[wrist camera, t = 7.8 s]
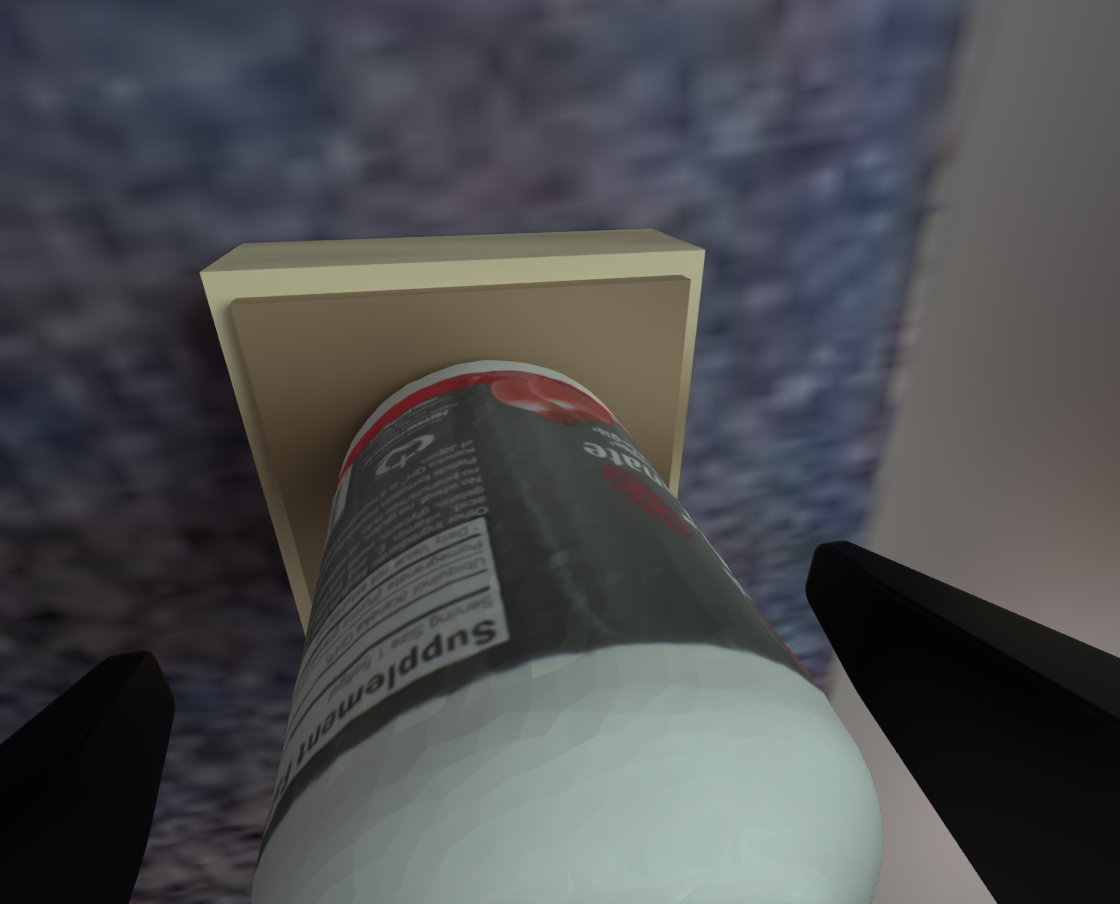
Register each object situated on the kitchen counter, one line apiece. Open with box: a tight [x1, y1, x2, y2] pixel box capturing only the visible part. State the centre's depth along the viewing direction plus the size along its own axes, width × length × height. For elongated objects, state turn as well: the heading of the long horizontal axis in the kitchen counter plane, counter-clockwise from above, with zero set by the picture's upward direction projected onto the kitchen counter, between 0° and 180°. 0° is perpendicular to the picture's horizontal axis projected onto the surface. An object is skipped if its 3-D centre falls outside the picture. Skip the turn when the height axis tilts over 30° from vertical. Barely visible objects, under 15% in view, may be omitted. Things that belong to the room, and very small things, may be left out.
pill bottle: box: [251, 360, 883, 904], centre depth 7 cm, size 5×5×10 cm
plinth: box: [200, 229, 705, 637], centre depth 12 cm, size 8×8×3 cm
